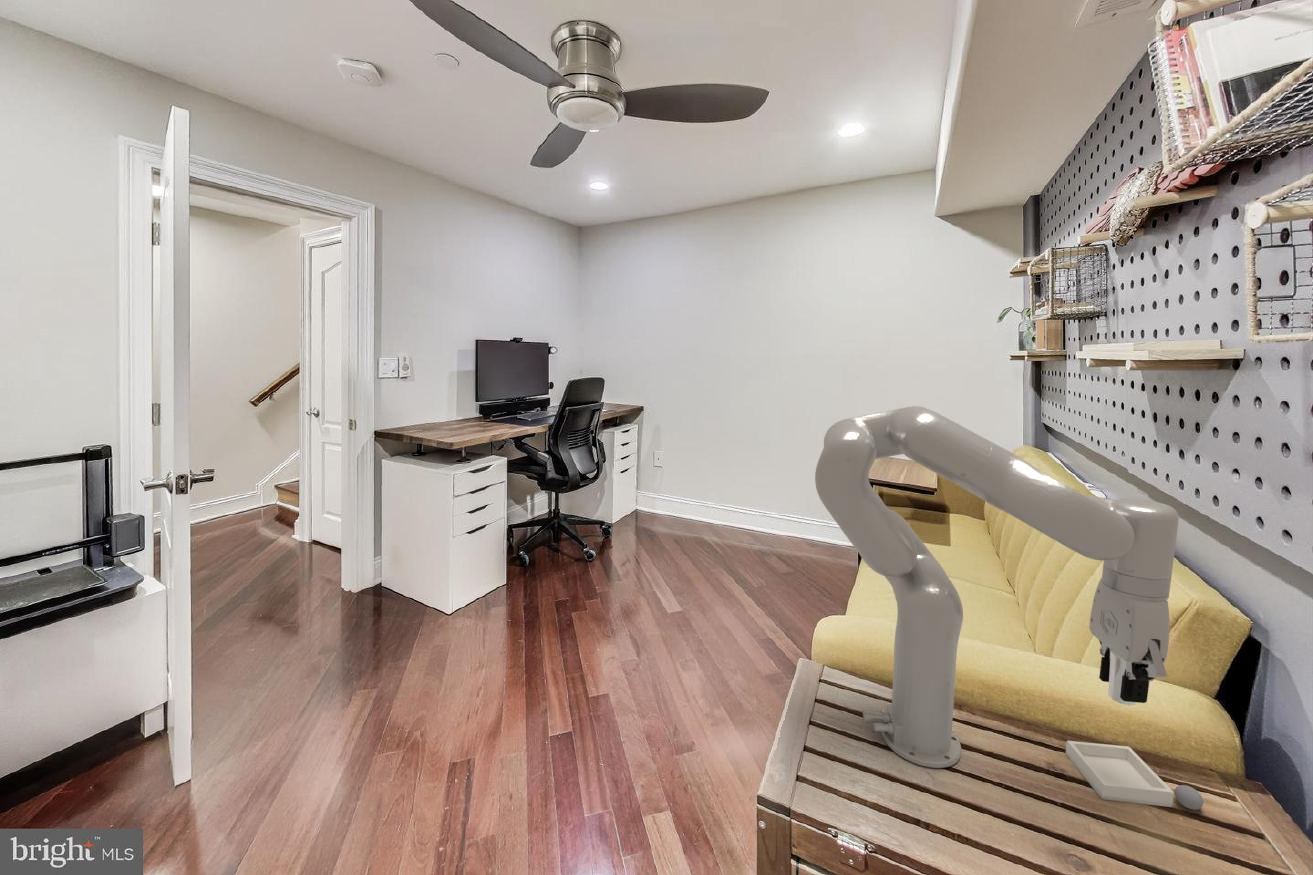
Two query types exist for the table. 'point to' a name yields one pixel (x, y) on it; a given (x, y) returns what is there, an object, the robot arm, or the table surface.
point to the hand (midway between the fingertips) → (1122, 689)
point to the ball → (1188, 797)
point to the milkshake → (1118, 677)
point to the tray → (1119, 774)
